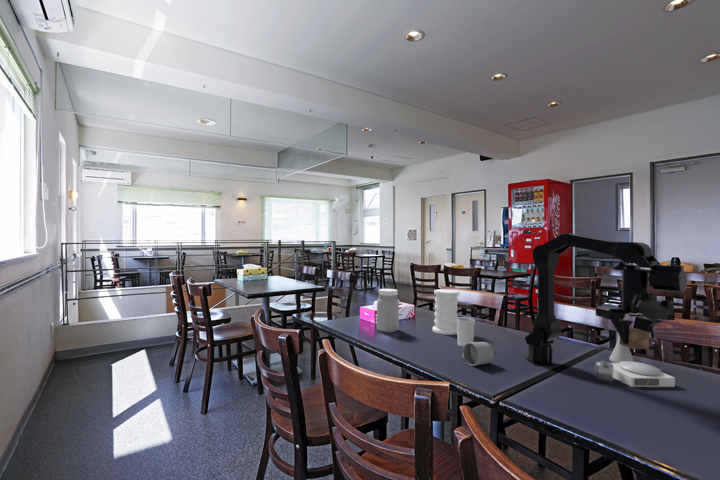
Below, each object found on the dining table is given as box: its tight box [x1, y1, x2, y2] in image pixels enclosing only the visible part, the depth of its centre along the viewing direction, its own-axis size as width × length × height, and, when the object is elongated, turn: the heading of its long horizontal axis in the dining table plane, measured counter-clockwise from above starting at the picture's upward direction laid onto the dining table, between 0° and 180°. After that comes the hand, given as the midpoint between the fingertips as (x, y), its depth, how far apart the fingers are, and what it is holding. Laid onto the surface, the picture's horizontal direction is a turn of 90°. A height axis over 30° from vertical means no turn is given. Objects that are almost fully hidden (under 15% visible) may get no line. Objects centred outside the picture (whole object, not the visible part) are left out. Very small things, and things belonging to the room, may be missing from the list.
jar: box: [376, 288, 400, 334], centre depth 158 cm, size 10×10×18 cm
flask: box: [608, 331, 635, 363], centre depth 122 cm, size 7×7×10 cm
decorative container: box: [431, 288, 460, 336], centre depth 158 cm, size 12×12×18 cm
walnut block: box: [620, 327, 650, 350], centre depth 98 cm, size 4×4×4 cm
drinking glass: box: [456, 316, 476, 348], centre depth 138 cm, size 7×7×10 cm
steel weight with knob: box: [594, 360, 614, 382], centre depth 107 cm, size 4×4×5 cm
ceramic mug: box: [461, 341, 495, 367], centre depth 119 cm, size 10×8×7 cm
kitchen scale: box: [610, 361, 676, 388], centre depth 107 cm, size 13×12×4 cm
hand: (633, 343), depth 98 cm, fingers closed on walnut block, 4 cm apart
